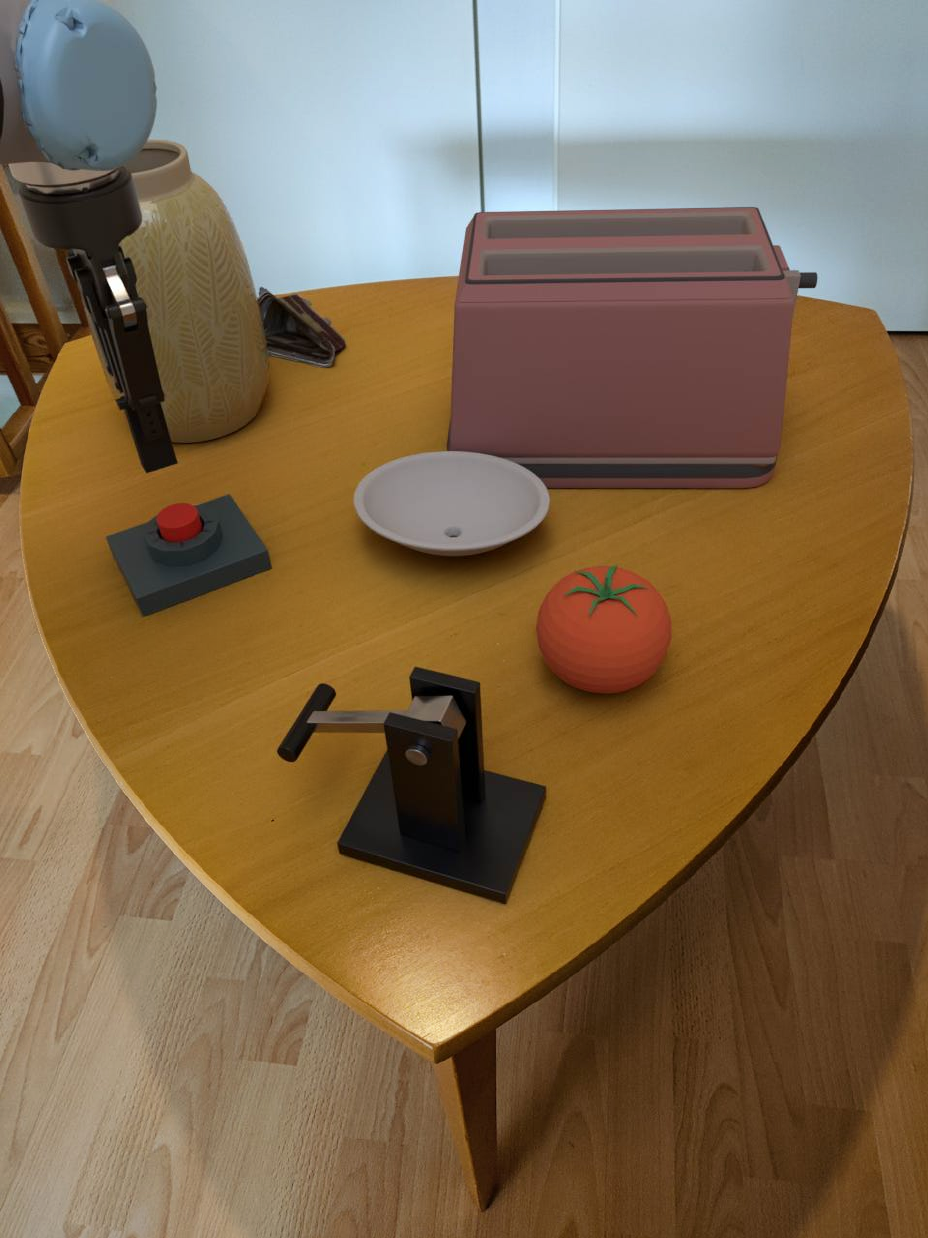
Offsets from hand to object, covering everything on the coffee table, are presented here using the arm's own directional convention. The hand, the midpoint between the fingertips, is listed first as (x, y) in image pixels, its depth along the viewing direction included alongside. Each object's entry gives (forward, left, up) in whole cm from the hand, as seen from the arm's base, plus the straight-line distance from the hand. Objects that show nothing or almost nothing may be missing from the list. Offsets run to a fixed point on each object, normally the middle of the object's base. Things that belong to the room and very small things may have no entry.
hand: (159, 463), depth 84 cm
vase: (-13, +23, -11) cm, 29 cm away
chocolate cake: (-8, +40, -11) cm, 42 cm away
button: (0, 0, -7) cm, 7 cm away
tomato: (+39, -2, -11) cm, 41 cm away
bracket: (+33, -19, -11) cm, 39 cm away
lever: (+29, -19, -3) cm, 35 cm away
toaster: (+32, +31, -11) cm, 46 cm away
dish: (+22, +10, -11) cm, 27 cm away
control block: (0, 0, -11) cm, 11 cm away
